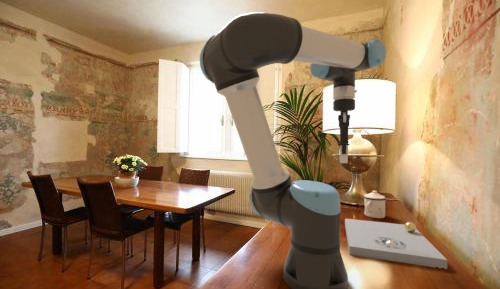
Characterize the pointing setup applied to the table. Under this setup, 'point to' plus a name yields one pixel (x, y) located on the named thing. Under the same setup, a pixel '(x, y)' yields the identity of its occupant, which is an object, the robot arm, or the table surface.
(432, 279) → the table surface
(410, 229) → the brass ball
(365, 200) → the teacup with lid
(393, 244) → the steel ball
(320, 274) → the robot arm
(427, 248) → the plate
